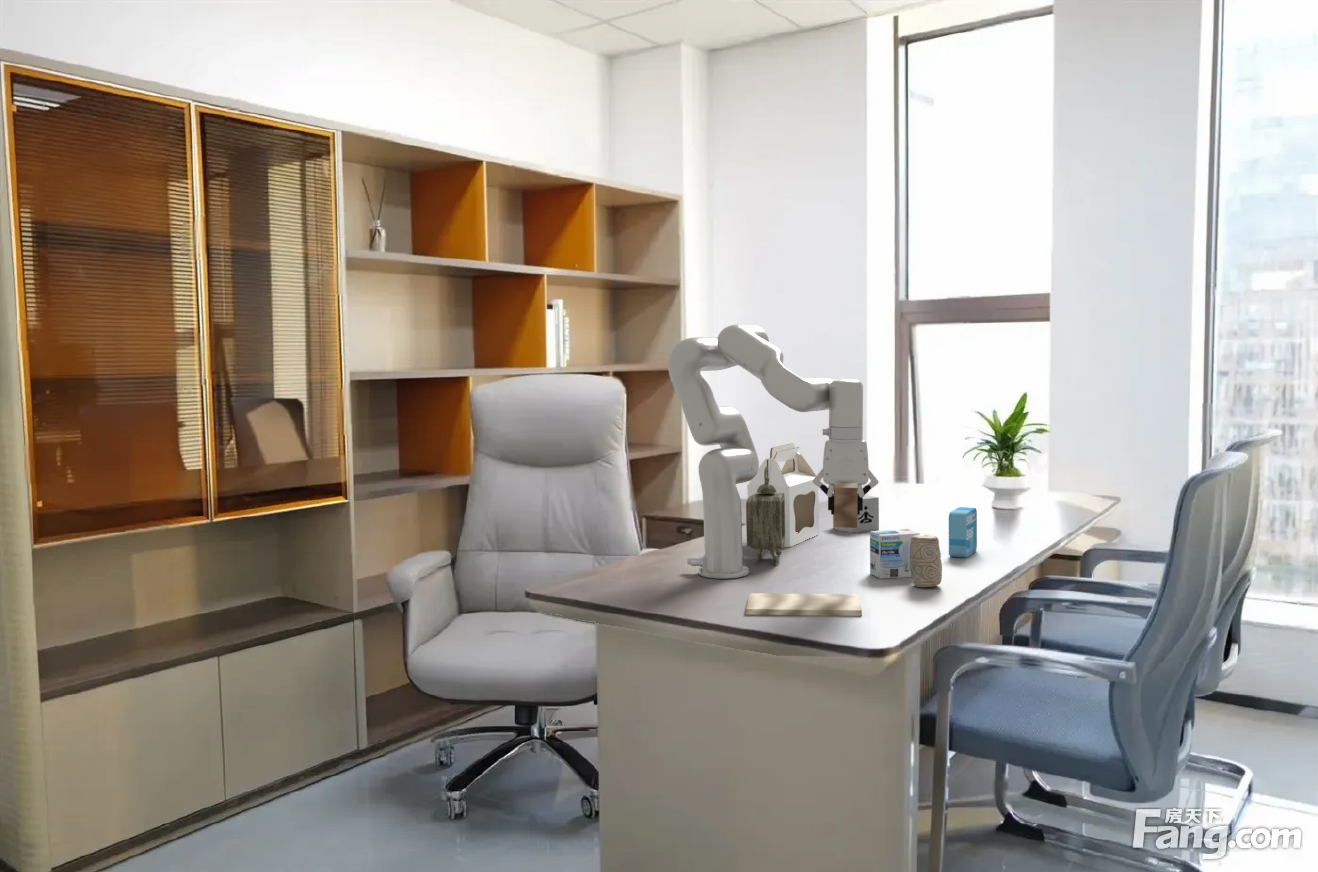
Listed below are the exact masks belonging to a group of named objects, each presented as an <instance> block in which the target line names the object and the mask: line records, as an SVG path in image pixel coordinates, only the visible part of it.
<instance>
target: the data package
mask: <svg viewBox="0 0 1318 872" xmlns="http://www.w3.org/2000/svg"><path fill="white" fill-rule="evenodd" d="M977 517H978V511H977V507H966V506H959V507H957V508H955V509H953V510H952V511H950V512H949V513H948V555H949V557H952V558H962V559H967V558H969V557H970V556H971V555H973V554H974V553H976V552H977V549H978V524H977V523H978V518H977Z"/></svg>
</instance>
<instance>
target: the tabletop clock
mask: <svg viewBox="0 0 1318 872" xmlns="http://www.w3.org/2000/svg"><path fill="white" fill-rule="evenodd" d="M766 472H767V477H766ZM764 479H765V484H763V485H760V486H759V488H758V490H757V492H758V493H756V494H754V495H752V496H750V497H749V498H748V497H747V499H746V503H745V504H746V505H745V509H746V510H745V515H746V516H745V517H746V518H745V522H746V523H745V526H746V529H745V530H746V531H745V532H746V545H747V546H748V547H750V548H752V549H753V550H759V551H758V553H757V555H756V556H755V558H756V560H757V561H761V560H762V559H763V555H762V552H763V550H767V551H768V552H769V553H770V555H771V557H772V560H771V562H772V564H773V565H777V564H778V563H779V559H778V558H777V557H779V556H781V555H782V551H781V550H783V549H784V548H785V547H784V544H785V497H784V493H775V492H777V491H776V489H775V487H774V486H773V485H771V484H769V482H768V467H765V470H764ZM774 550H775V553H774ZM775 555H776V556H777V557H776V556H775Z"/></svg>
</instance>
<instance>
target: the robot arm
mask: <svg viewBox="0 0 1318 872" xmlns="http://www.w3.org/2000/svg"><path fill="white" fill-rule="evenodd" d="M783 363H784V353H783V352H782V350H781V349H779V348H778V347H777V346H775V345H774V344H772V343H770V340H769V337H768V334H767V332H766V331H765V330H764V329H763V328H762V327H760V326H758V325H754V324H732V325H727V326H725V327H724V328H723V329H722V330H721V331H720V332H719V333H718V335H717V337H707V336H706V337H698V336H696V337H689V338H685V339H683V340H681V341H679V342H678V343H676V344H675V346H674V347H673V348H672V349H671V351H670V354H669V358H668V363H667V364H668V365H667V366H668V367H667V369H668V375H669V379H670V381H671V384H672V386H673V389H674V390H675V392H676V394H677V397H678V400H679V402H680V405H681V408H682V411H683V414H684V417H685V420H686V423H687V426H688V429H689V432H690V434H691V437H692V438H693V440H694V442H695V443H697V444H698V445H699V446H705V447H707V446H708V447H709V446H717V445H719V448H715V449H711V450H710V451H707V452H706V453H705V454H703V456H702V457H701V459H700V461H699V463H698V478H699V482H700V487H701V492H702V504H703V505H702V508H703V509H702V510H703V512H702V513H703V535H704V537H703V538H704V539H703V541H704V542H703V543H704V545H703V547H704V548H703V549H704V554H703V555H702V556H699V557H687V559H686V560H687V561H686V563H687V564H686V565H687V566H691V567H700V568H698V574H699V576H701V577H704V578H708V579H725V580H726V579H736V578H737V579H738V578H742V577H746V576H748V575H749V573H750V570H749V569H750V568H749V567H747V566H745V565H743V561H744V560H743V528H742V527H743V523H742V522H743V521H742V519H743V518H742V517H743V515H742V514H743V513H742V500H741V496H740V493H739V491H738V488H737V484H743V483H747V482H750V481H751V480H752V479H753V478H754V477H755V476H756V474H757V472H758V469H759V467H760V460H759V457H758V453H757V450H756V448H755V445H754V442H753V439H752V437H751V434H750V431H749V428H748V425H747V423H746V420H745V419H744V417H743V415H742V414H741V413H740V412H739V411H738V410H737V409H735V408H733V407H731V406H719V405H718V403H717V401H716V398H715V395H714V393H713V391H712V387H711V386H710V385H709V383H708V382H707V381H706V379H705V378H704V376H702V374H701V372H710V371H711V372H713V371H715V372H716V371H723V370H726V369H727V370H728V369H729V368H733V367H736V366H739V367H741V368H742V369H744V370H745V371H746V372H748V373H750V374H751V375H752V376H754V377H756V378H757V379H758V380H760V383H761V385H762V386H763V387H764V389H765V390H766V392H767V393H768V394H769V395H770V396H771V397H772V398H774V399H776V401H778V402H780V403H782V404H783V405H785V406H786V407H788V408H789V409H792V411H793V410H794V411H796V412H800V413H809V412H819V411H827V410H828V427H827V428H823V429H822V435H823V436H827V437H828V439H826V440H825V442H824V449H823V456H822V457H823V458H822V468H821V470H820V471H819V472H818V473H817V474H816V477H815V478H814V479H813V483H814V484H815V485H816V486H818V489H820V490H821V491H822V492H823V493H824V494H825V495H826V496H827V511H830V514H831V515H832V516H833V515H834V485H835V482H857V483H858V498H857V515H860V511H863V497H864V495H867V494H868V493H869V492H870V491H871V490H872V489H873V488H875V487H876V486H878V484H879V480H878V479H877V477H876V476H875V475H874V474H873V472H872V471H871V470H870V467H869V465H870V464H869V451H868V450H869V449H868V444H867V441H866V440H864V438H863V432H864V429H863V428H864V427H863V425H864V424H863V423H864V420H863V419H864V417H863V416H864V386H863V383H862V381H860V380H858V379H832V378H827V377H818V378H817V377H816V378H815V377H814V378H813V377H811V378H803V377H801V376H799V375H798V374H796V373H793V371H791V370H790V369H789V368H786V367H785V366H784V365H783ZM821 480H822V481H823V482H824V483H825V484H827V485H828V487H827V485H825V484H824V483H823V482H822V481H821ZM869 480H870V482H869Z"/></svg>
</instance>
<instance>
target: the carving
mask: <svg viewBox="0 0 1318 872" xmlns="http://www.w3.org/2000/svg"><path fill="white" fill-rule="evenodd" d="M910 541H911V543H910V545H911V546H910V557H909V559H910V560H909V561H910V572H911V576H912V577H911V579H912V583H913V584H914V587H918V588H933V587H936V586H939V585H941V583H942V578H943V575H942V574H943V564H942V559H941V558H942V557H941V556H942V555H941V554H942V553H941V552H942V551H941V549H940V543H939V542H940V540H939V538H938V536H937V535H934V534H929V533H920V534H918V535H914V536H912V537H911V540H910Z"/></svg>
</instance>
